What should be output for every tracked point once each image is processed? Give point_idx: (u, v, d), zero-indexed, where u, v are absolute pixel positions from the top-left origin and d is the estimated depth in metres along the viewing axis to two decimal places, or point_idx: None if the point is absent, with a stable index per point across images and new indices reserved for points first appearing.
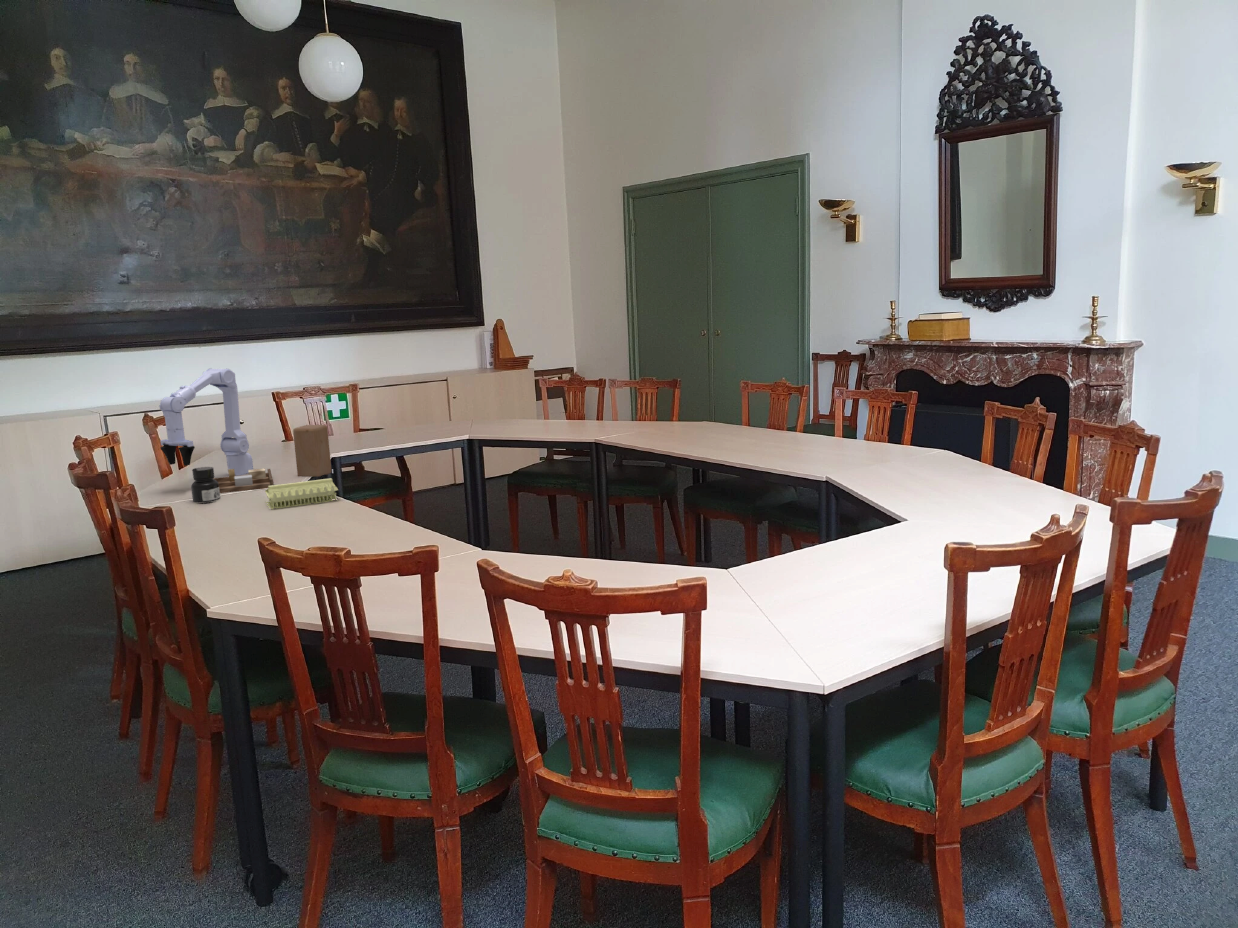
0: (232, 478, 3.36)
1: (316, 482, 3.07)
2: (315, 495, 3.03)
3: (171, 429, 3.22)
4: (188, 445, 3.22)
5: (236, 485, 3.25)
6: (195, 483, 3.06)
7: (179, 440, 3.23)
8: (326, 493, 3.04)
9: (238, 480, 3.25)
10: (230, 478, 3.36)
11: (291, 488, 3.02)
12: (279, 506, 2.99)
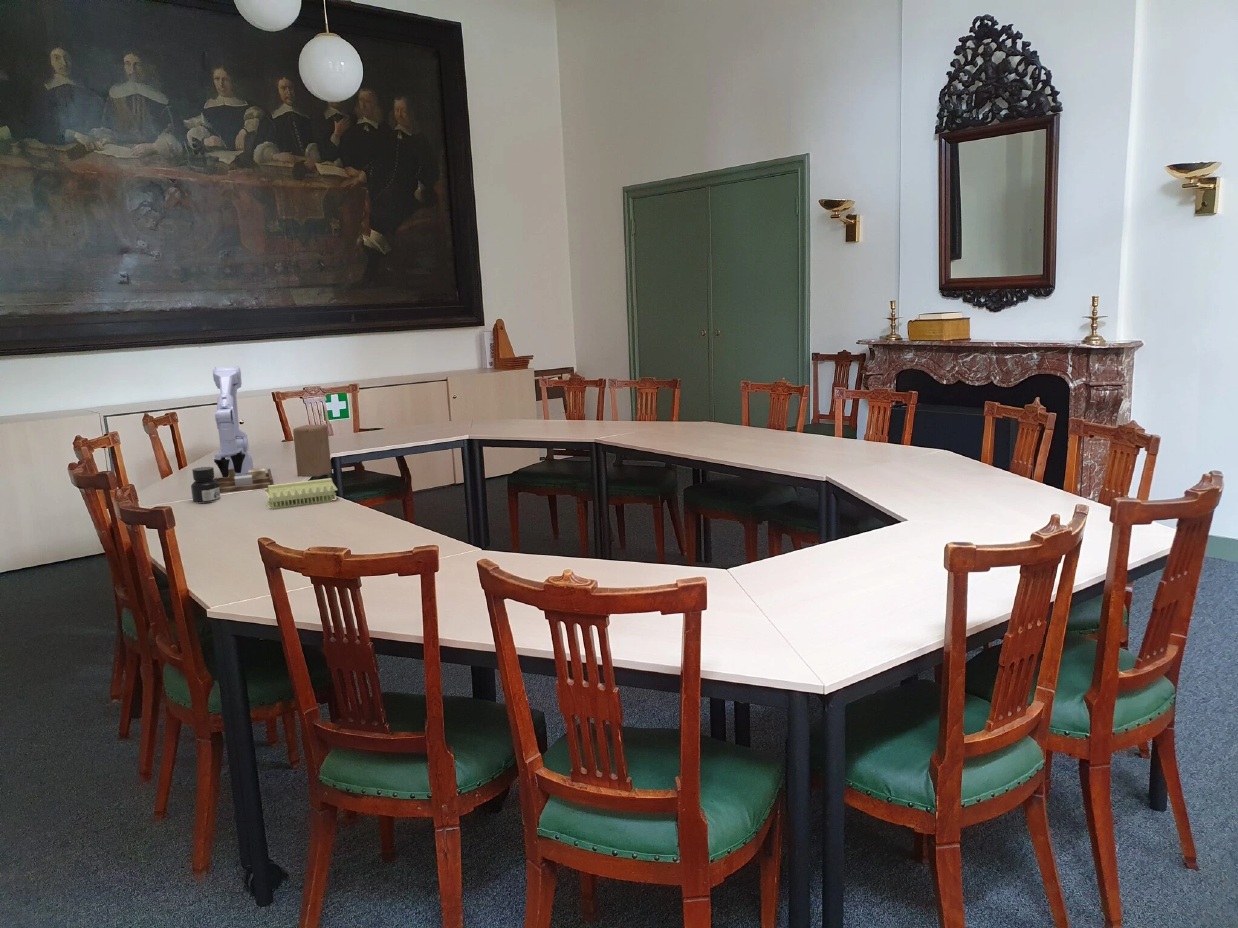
0: (232, 478, 3.36)
1: (316, 482, 3.07)
2: (315, 495, 3.03)
3: (230, 440, 3.31)
4: None
5: (236, 485, 3.25)
6: (195, 483, 3.06)
7: (222, 451, 3.32)
8: (326, 493, 3.05)
9: (238, 480, 3.25)
10: (230, 478, 3.36)
11: (291, 487, 3.03)
12: (279, 506, 3.00)
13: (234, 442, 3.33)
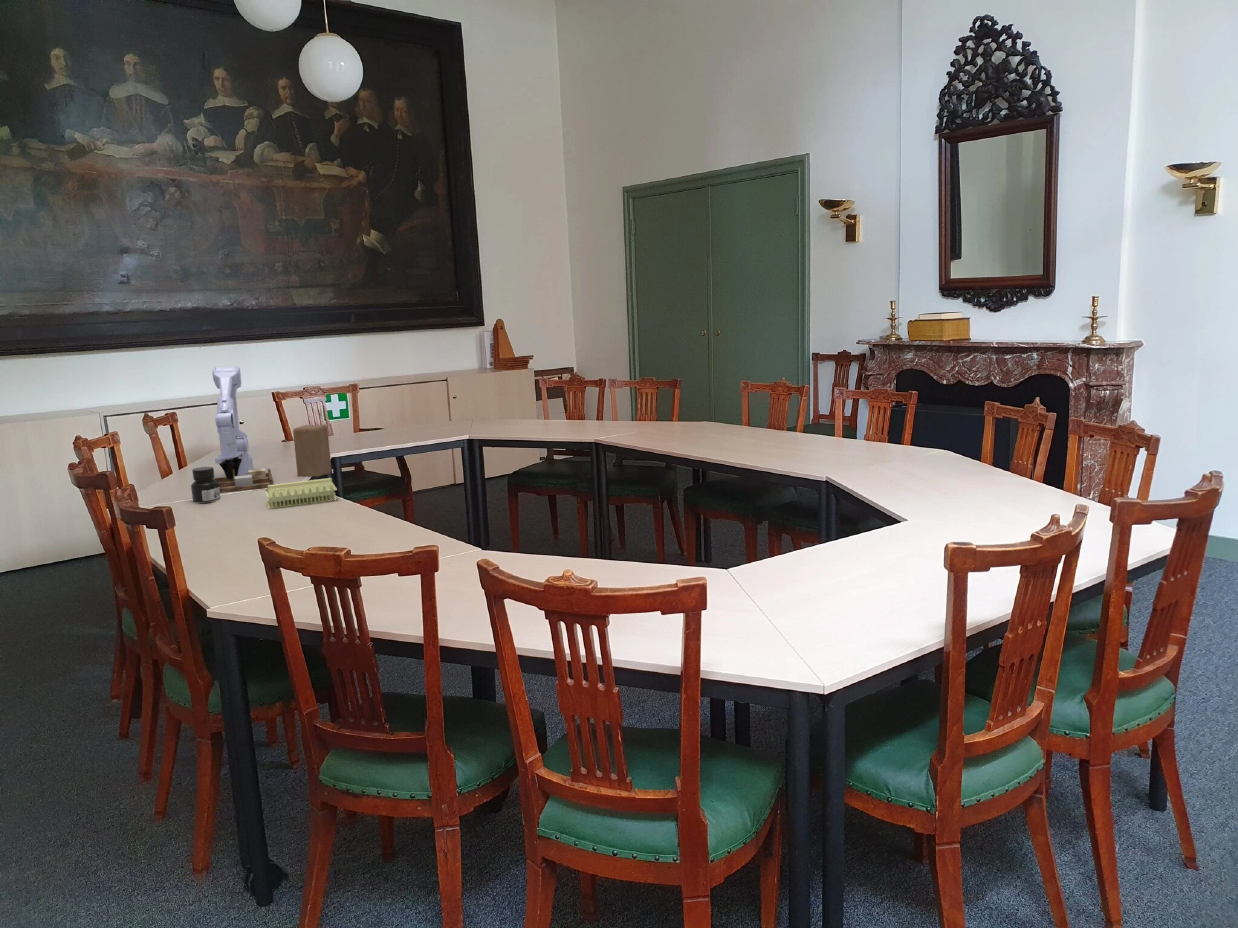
0: None
1: (315, 482, 3.07)
2: (314, 495, 3.03)
3: (230, 443, 3.32)
4: None
5: (236, 485, 3.25)
6: (195, 483, 3.06)
7: (222, 455, 3.32)
8: (325, 493, 3.05)
9: (238, 480, 3.25)
10: None
11: (290, 487, 3.03)
12: (278, 505, 3.00)
13: (234, 446, 3.33)
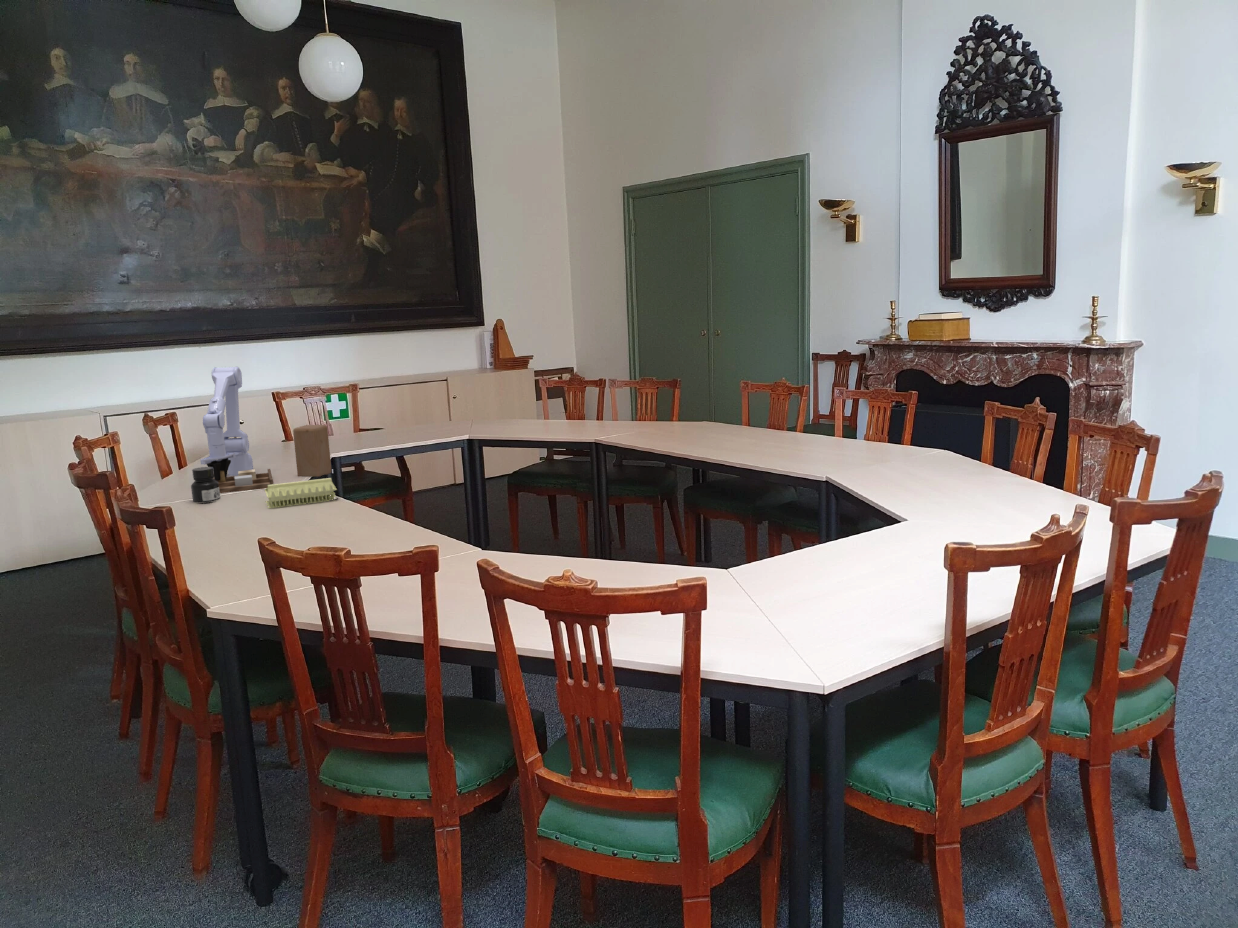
0: (222, 480, 3.34)
1: (315, 482, 3.08)
2: (314, 494, 3.04)
3: (217, 445, 3.30)
4: None
5: (236, 485, 3.25)
6: (195, 483, 3.06)
7: (210, 456, 3.31)
8: (325, 493, 3.05)
9: (238, 480, 3.25)
10: (220, 480, 3.34)
11: (290, 487, 3.03)
12: (278, 505, 3.00)
13: (222, 447, 3.31)
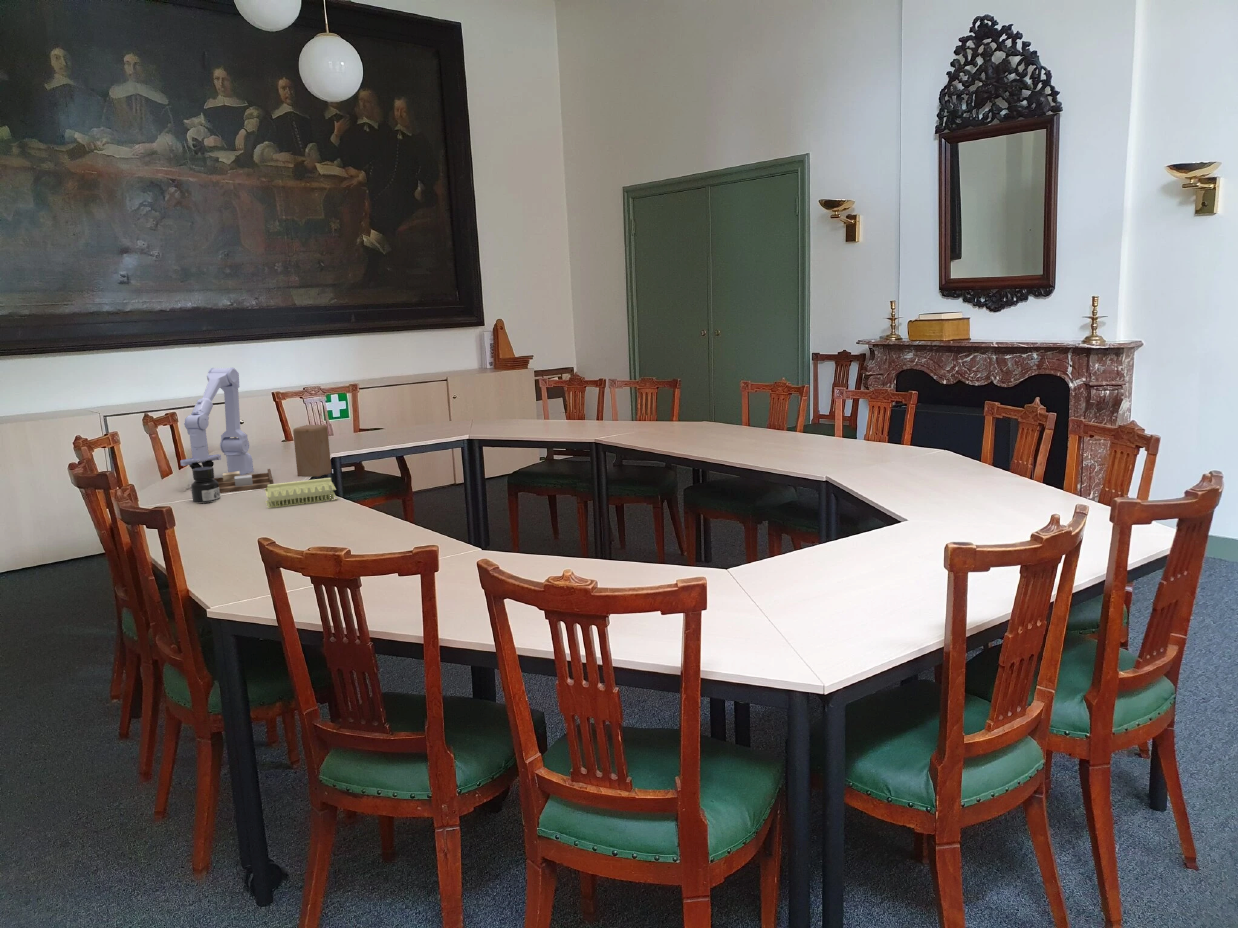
0: None
1: (315, 481, 3.08)
2: (313, 494, 3.04)
3: (197, 446, 3.27)
4: None
5: (236, 485, 3.25)
6: (195, 483, 3.06)
7: (192, 457, 3.29)
8: (324, 492, 3.05)
9: (238, 480, 3.25)
10: None
11: (290, 487, 3.04)
12: (277, 505, 3.01)
13: (203, 449, 3.28)
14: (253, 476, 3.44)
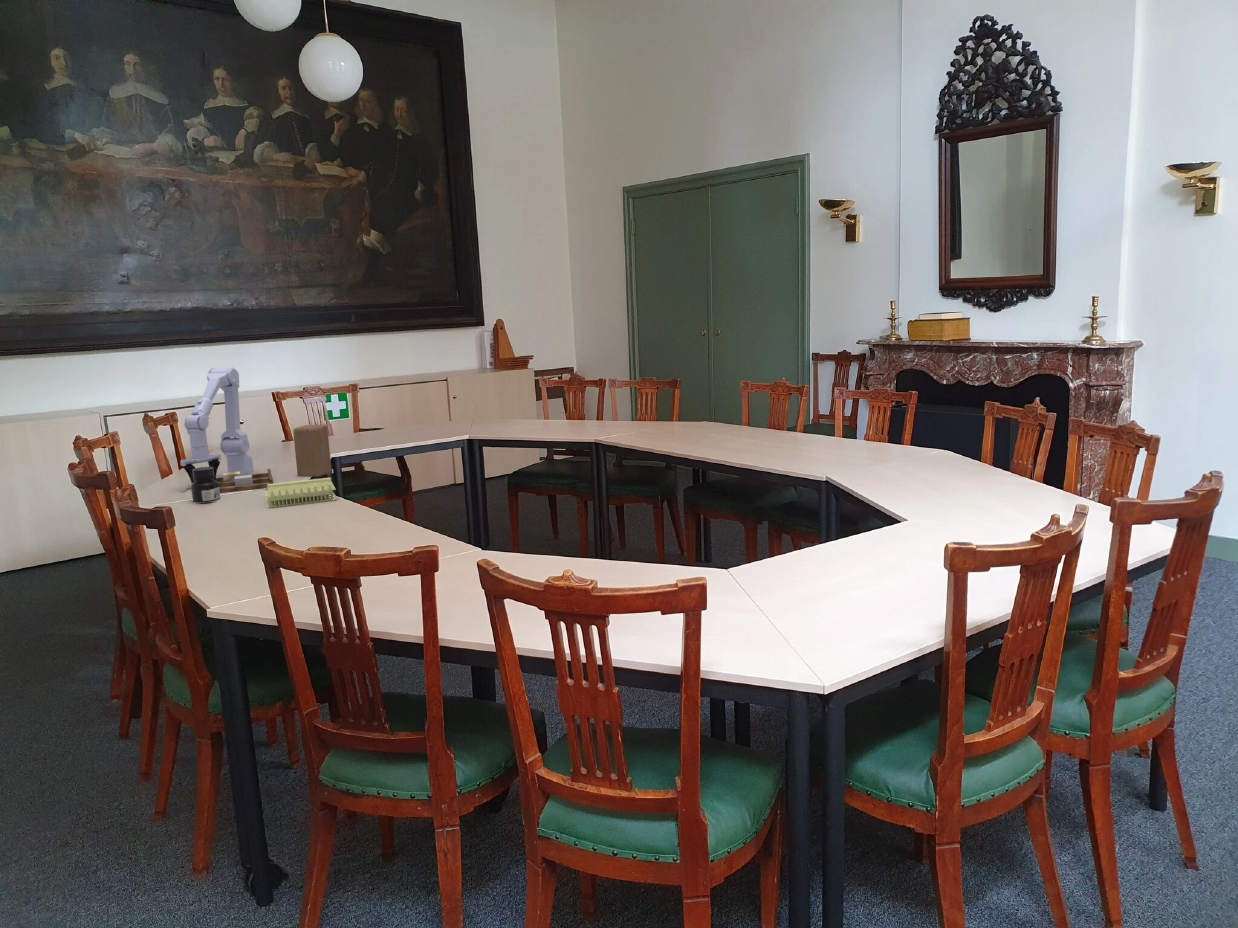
0: None
1: (315, 481, 3.08)
2: (313, 494, 3.04)
3: (197, 446, 3.27)
4: None
5: (236, 485, 3.25)
6: (195, 483, 3.06)
7: (192, 457, 3.29)
8: (324, 492, 3.06)
9: (238, 480, 3.25)
10: None
11: (289, 487, 3.04)
12: (277, 504, 3.01)
13: (203, 449, 3.28)
14: (253, 476, 3.44)
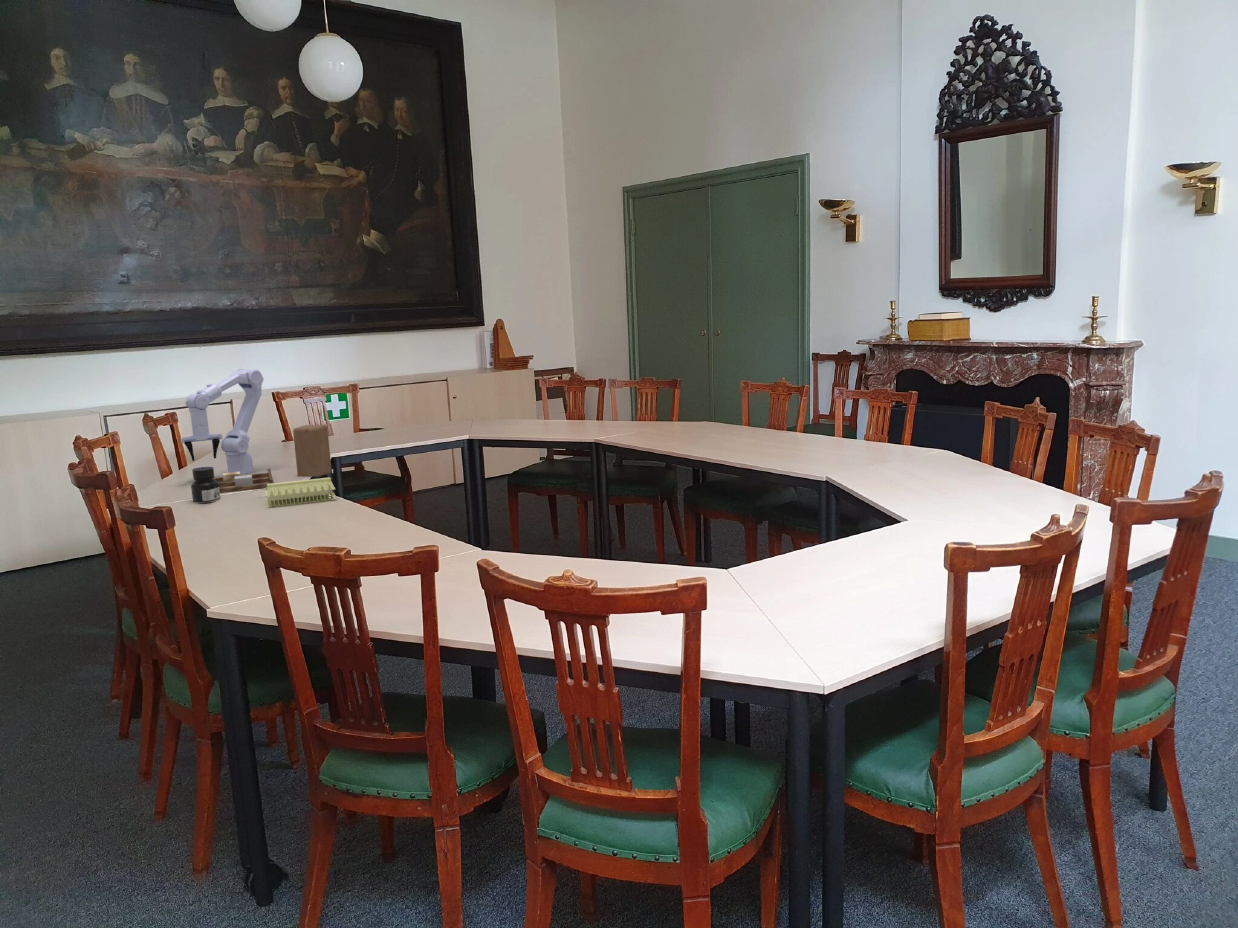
0: None
1: (314, 481, 3.09)
2: (312, 494, 3.04)
3: (195, 425, 3.35)
4: None
5: (236, 485, 3.25)
6: (195, 483, 3.06)
7: None
8: (323, 492, 3.06)
9: (238, 480, 3.25)
10: None
11: (289, 486, 3.05)
12: (276, 504, 3.02)
13: (200, 428, 3.36)
14: (253, 476, 3.44)
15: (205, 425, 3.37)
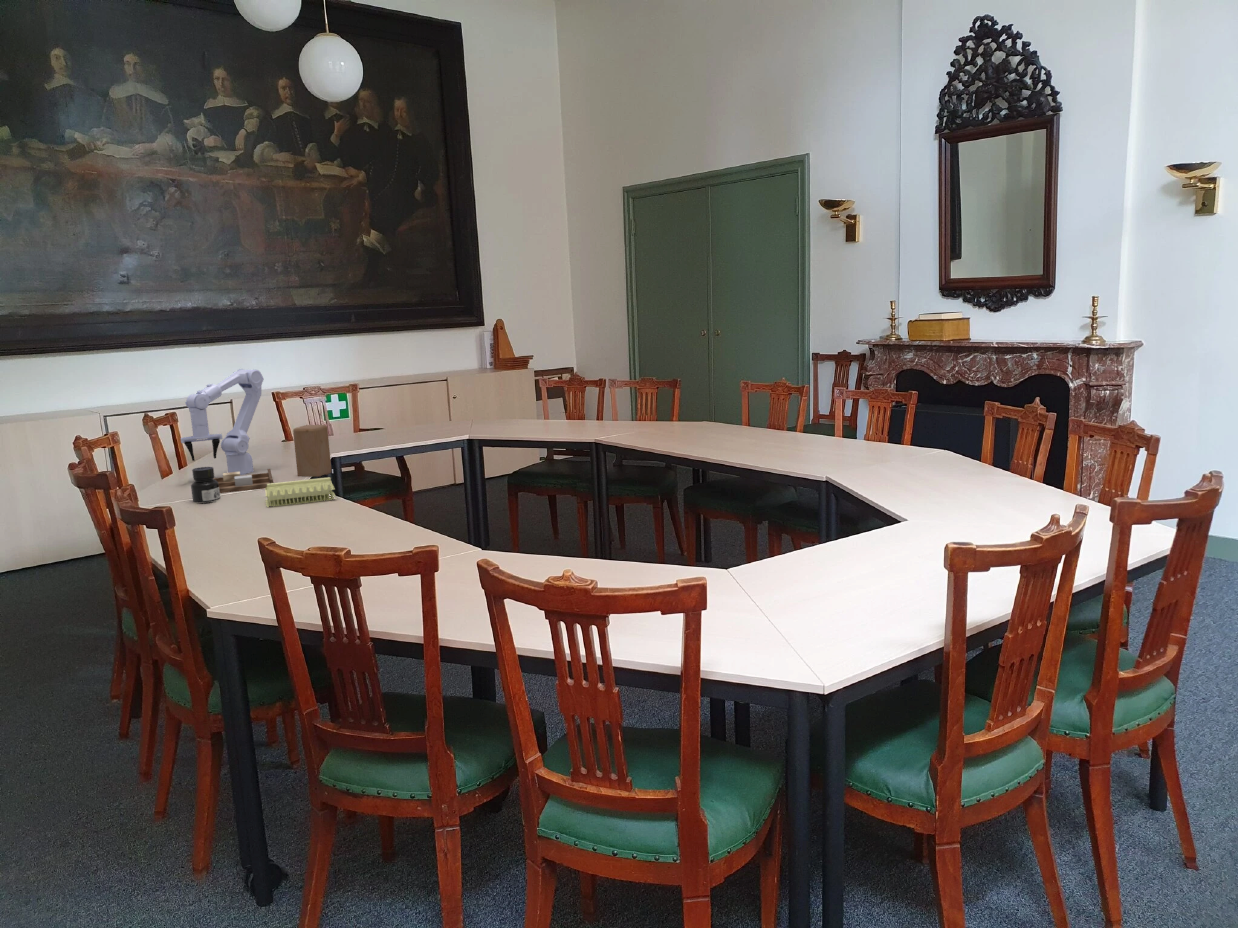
0: None
1: (314, 481, 3.09)
2: (312, 494, 3.05)
3: (195, 425, 3.35)
4: None
5: (236, 485, 3.25)
6: (195, 483, 3.06)
7: None
8: (323, 492, 3.06)
9: (238, 480, 3.25)
10: None
11: (289, 486, 3.05)
12: (276, 504, 3.02)
13: (200, 428, 3.36)
14: (253, 476, 3.44)
15: (205, 425, 3.37)
